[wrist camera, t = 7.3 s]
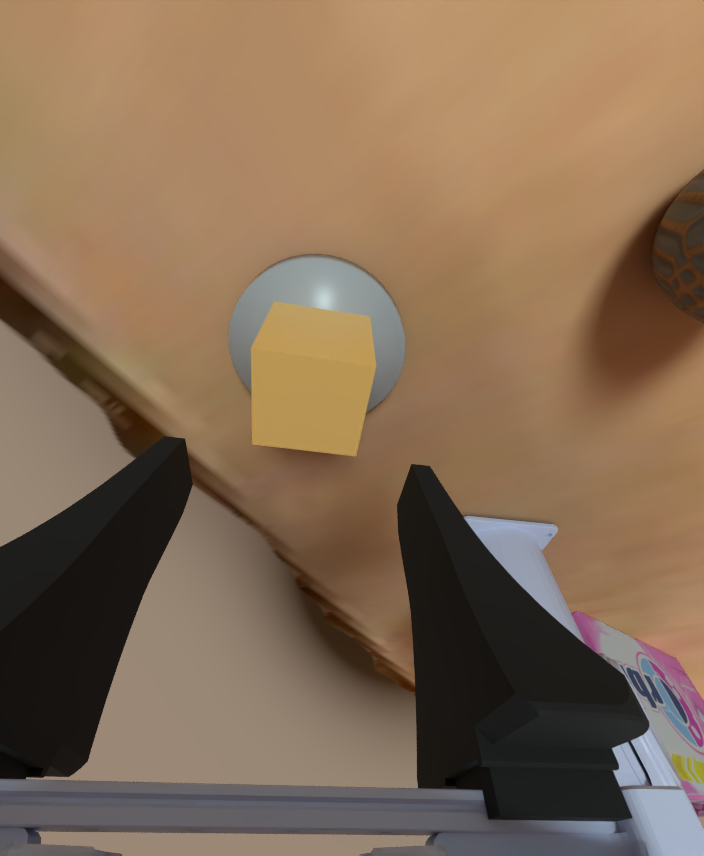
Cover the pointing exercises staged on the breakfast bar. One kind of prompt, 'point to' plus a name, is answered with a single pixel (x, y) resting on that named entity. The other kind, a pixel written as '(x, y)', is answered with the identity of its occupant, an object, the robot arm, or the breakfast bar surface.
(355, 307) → the grey disc
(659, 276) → the vase
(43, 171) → the breakfast bar surface
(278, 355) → the mustard yellow cube
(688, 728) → the gum box
